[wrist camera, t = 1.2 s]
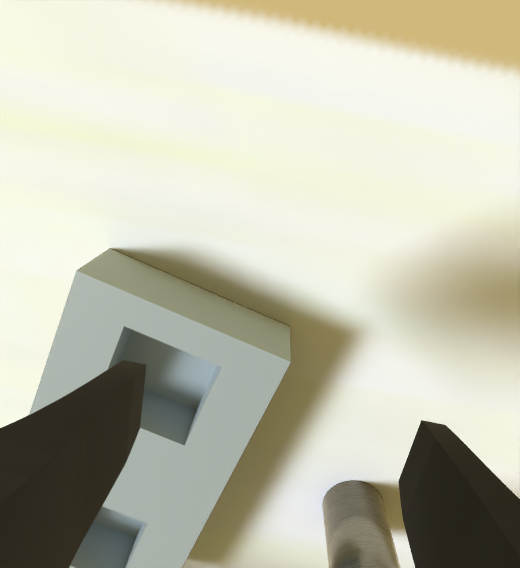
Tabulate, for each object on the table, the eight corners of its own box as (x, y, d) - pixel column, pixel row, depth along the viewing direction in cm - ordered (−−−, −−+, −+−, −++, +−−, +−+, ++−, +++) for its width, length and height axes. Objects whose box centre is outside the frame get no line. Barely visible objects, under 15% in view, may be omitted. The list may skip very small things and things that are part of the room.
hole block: (171, 557, 26) (154, 618, 23) (21, 500, 26) (-17, 555, 22) (289, 326, 22) (290, 362, 18) (109, 248, 21) (76, 270, 17)
